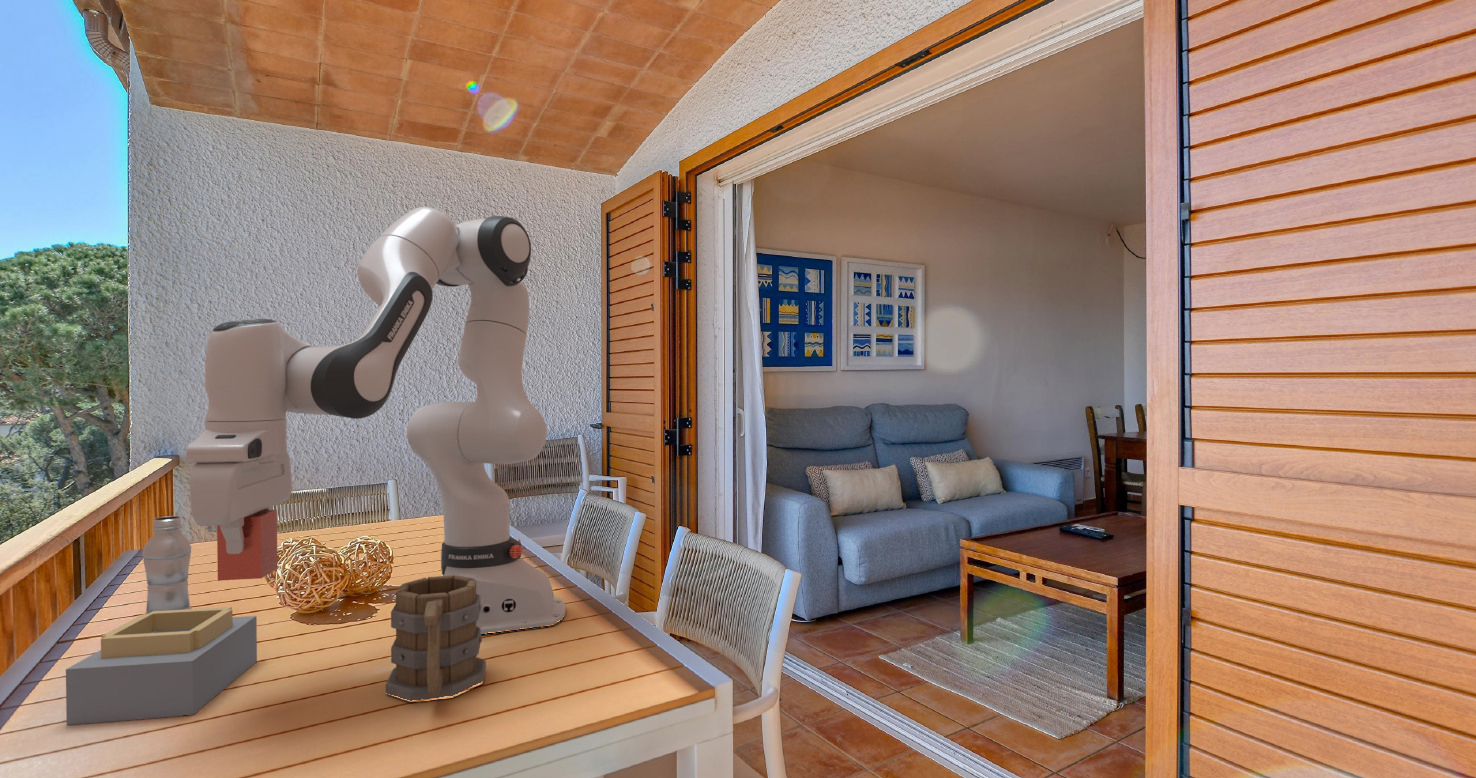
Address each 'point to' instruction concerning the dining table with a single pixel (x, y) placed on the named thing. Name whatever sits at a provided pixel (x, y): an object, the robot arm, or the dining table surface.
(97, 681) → the grey box
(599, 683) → the dining table surface
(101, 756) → the dining table surface
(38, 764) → the dining table surface
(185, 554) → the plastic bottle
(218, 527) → the red rectangular block
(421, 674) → the tankard
